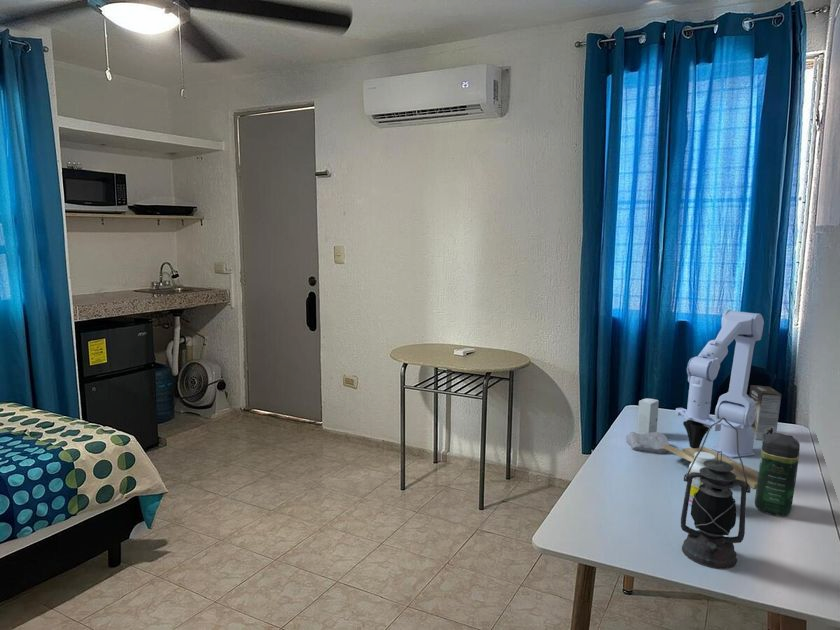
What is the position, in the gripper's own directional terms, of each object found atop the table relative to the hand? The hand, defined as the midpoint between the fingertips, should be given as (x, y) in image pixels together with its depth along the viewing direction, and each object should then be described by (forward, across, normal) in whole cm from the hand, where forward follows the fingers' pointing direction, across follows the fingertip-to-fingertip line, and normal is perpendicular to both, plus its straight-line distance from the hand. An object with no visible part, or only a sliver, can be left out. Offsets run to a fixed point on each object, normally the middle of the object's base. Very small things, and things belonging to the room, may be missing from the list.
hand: (694, 447), depth 167 cm
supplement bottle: (+8, +16, -12) cm, 22 cm away
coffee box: (+8, -18, +46) cm, 50 cm away
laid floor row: (+7, 0, +12) cm, 15 cm away
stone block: (+8, -19, +1) cm, 21 cm away
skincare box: (+8, -28, +8) cm, 30 cm away
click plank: (+6, 0, +3) cm, 6 cm away
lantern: (+8, +35, -28) cm, 46 cm away
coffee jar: (+8, +23, +4) cm, 25 cm away
